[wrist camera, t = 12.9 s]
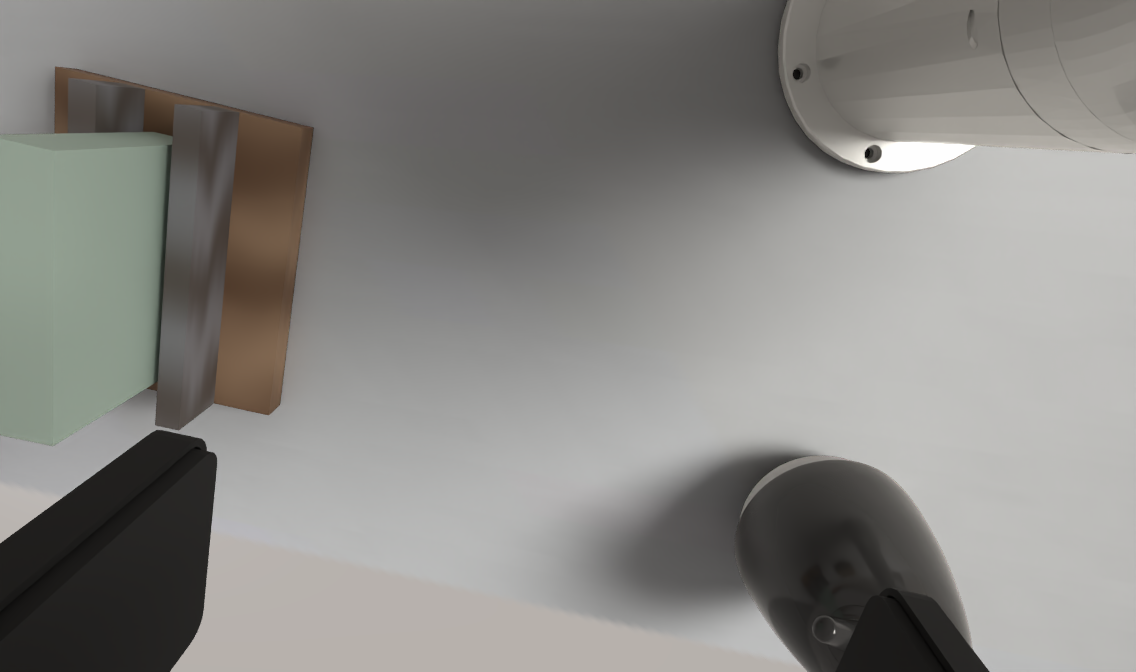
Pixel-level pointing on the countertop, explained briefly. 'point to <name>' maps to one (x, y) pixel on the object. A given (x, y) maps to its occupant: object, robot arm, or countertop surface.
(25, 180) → the door panel
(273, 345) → the track board
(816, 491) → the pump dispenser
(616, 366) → the countertop surface
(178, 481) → the robot arm
